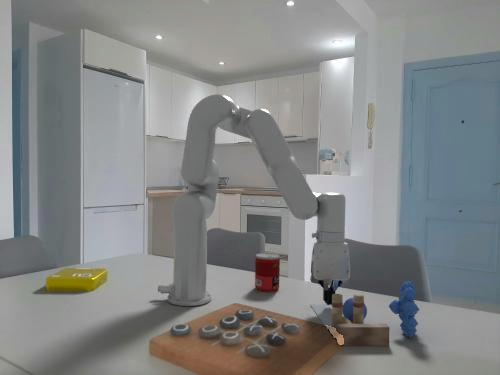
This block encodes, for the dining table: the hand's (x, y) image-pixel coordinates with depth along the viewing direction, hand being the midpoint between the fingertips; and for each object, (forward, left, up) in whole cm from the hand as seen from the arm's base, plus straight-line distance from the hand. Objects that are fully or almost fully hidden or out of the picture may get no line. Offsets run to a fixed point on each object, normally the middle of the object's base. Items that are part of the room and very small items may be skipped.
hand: (329, 303), depth 106 cm
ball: (+4, -10, +2) cm, 11 cm away
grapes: (+13, -17, -2) cm, 21 cm away
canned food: (-15, +20, -2) cm, 25 cm away
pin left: (-2, -16, -2) cm, 16 cm away
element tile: (-76, +24, -2) cm, 80 cm away
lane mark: (0, -8, -2) cm, 9 cm away
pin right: (+2, -16, -2) cm, 16 cm away
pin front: (0, -13, 0) cm, 13 cm away
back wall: (+1, -23, -2) cm, 23 cm away
